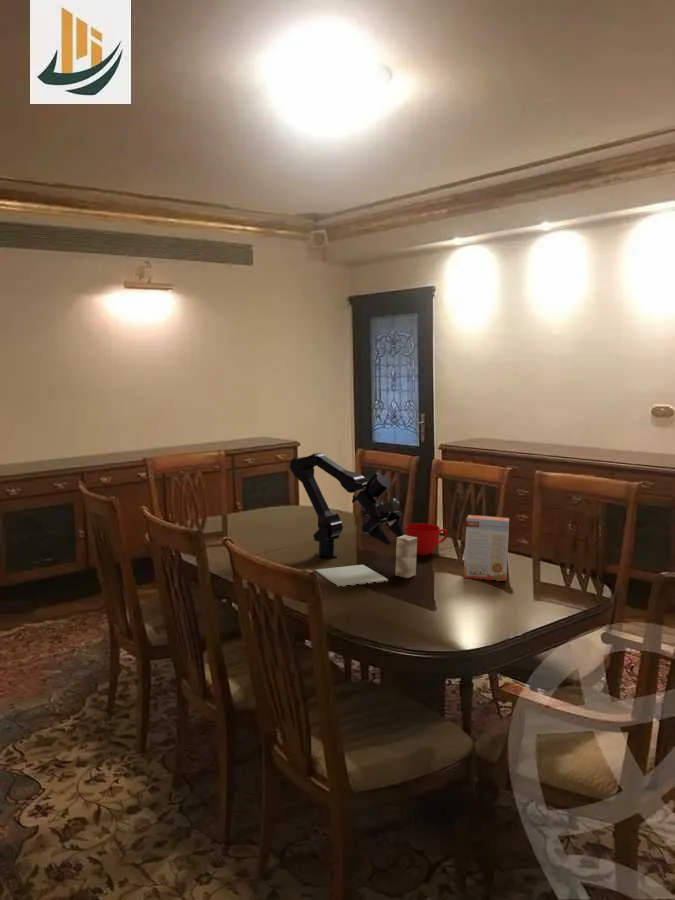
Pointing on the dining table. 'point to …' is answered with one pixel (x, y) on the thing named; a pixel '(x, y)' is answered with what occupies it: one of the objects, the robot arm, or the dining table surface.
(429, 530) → the ceramic cup
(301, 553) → the dining table surface
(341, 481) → the robot arm
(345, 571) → the sage mat
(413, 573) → the birch block
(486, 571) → the cracker box
